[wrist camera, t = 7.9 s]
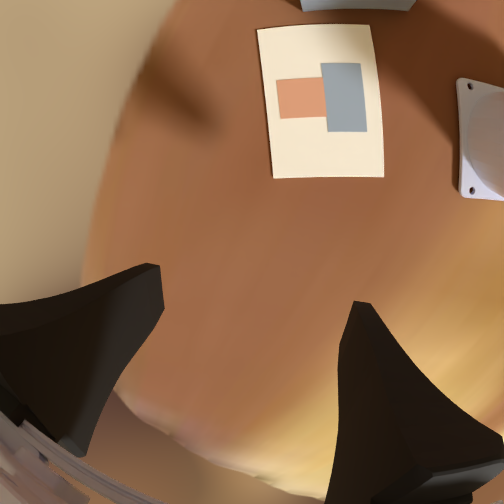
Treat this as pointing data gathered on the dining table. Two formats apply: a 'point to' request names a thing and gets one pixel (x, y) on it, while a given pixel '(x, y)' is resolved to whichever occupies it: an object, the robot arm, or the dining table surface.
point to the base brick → (356, 4)
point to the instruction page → (322, 101)
